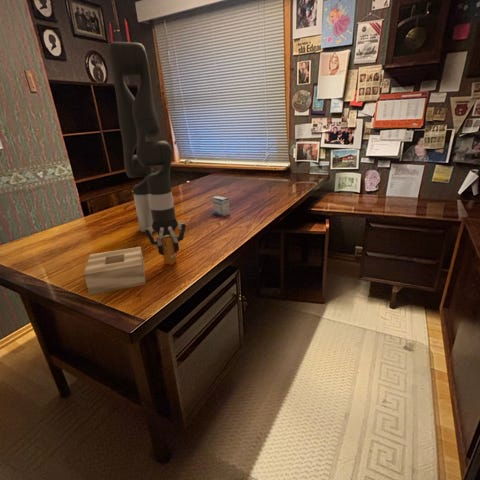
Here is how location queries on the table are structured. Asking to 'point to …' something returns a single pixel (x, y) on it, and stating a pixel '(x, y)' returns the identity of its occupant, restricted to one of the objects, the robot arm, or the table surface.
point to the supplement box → (168, 249)
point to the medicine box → (220, 205)
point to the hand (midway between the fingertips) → (169, 252)
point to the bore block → (114, 270)
